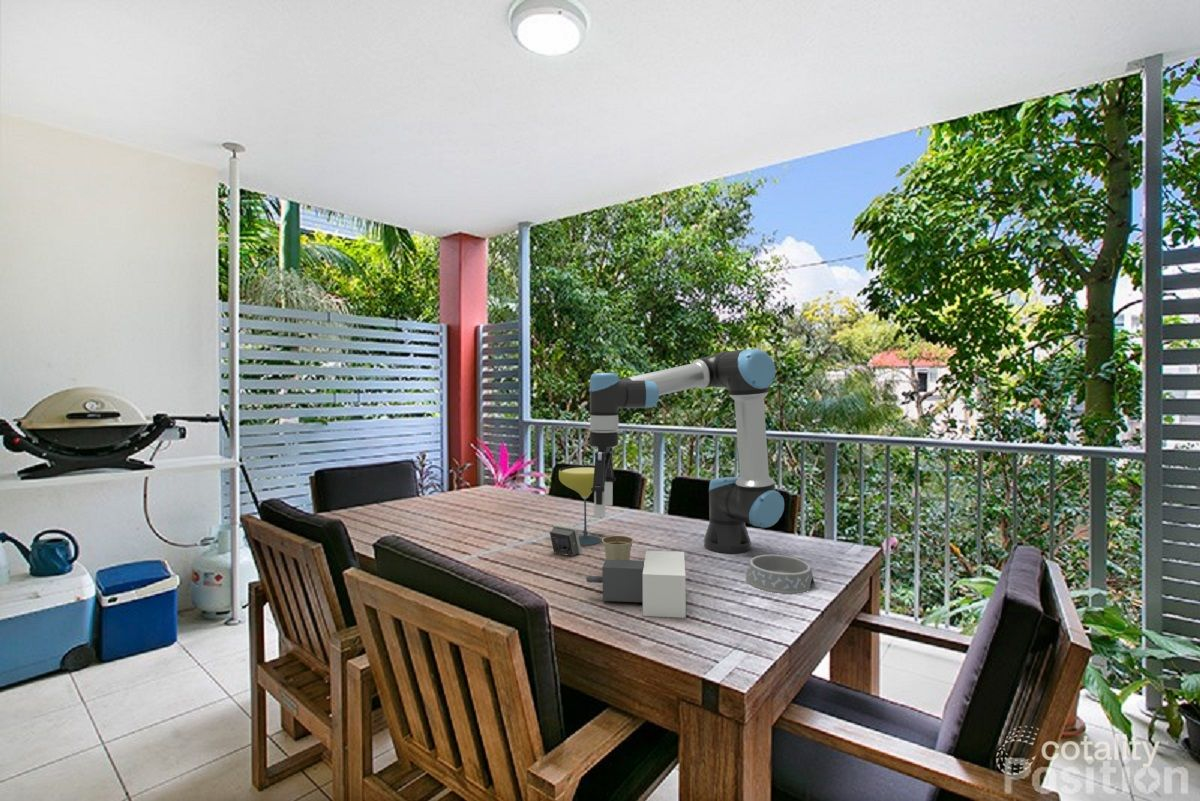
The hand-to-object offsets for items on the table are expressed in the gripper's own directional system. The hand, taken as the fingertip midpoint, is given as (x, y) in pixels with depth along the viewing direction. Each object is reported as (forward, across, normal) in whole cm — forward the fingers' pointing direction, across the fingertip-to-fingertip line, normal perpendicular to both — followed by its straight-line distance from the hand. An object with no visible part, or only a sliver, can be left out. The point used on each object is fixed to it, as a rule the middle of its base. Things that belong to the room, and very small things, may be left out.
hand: (603, 510), depth 147 cm
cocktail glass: (+21, -43, -13) cm, 49 cm away
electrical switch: (+21, -28, -17) cm, 38 cm away
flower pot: (+21, -16, +2) cm, 27 cm away
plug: (+20, +7, +7) cm, 22 cm away
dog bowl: (+21, -12, +47) cm, 53 cm away
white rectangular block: (+21, +6, +16) cm, 27 cm away
